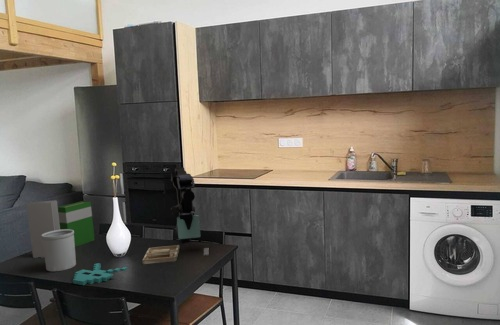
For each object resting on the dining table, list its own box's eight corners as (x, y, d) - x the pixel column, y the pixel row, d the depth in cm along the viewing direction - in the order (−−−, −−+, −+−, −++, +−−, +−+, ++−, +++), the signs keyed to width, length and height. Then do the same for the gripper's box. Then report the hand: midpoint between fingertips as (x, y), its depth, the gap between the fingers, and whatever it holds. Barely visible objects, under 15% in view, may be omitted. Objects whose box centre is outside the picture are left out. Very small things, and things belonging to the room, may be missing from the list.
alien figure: (97, 267, 207) (63, 282, 190) (97, 263, 207) (62, 277, 189) (128, 271, 198) (94, 288, 180) (127, 267, 198) (93, 283, 180)
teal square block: (179, 237, 218) (177, 216, 217) (200, 235, 219) (198, 214, 217) (178, 239, 215) (176, 218, 214) (200, 237, 216) (198, 216, 214)
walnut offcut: (149, 256, 209) (149, 253, 209) (169, 254, 211) (169, 251, 210) (148, 259, 205) (148, 256, 205) (169, 256, 206) (169, 254, 206)
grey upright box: (63, 253, 234) (56, 200, 230) (57, 256, 228) (51, 202, 225) (39, 254, 235) (32, 201, 232) (33, 257, 230) (26, 203, 227)
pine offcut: (153, 253, 210) (153, 250, 209) (169, 251, 210) (169, 248, 209) (152, 255, 206) (151, 252, 205) (168, 254, 206) (168, 251, 205)
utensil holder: (64, 260, 221) (60, 227, 219) (84, 263, 214) (80, 229, 212) (38, 270, 208) (34, 235, 206) (58, 273, 201) (54, 237, 199)
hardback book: (86, 239, 262) (82, 201, 259) (94, 240, 258) (90, 201, 255) (61, 247, 246) (56, 207, 244) (69, 248, 243) (65, 207, 240)
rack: (149, 253, 223) (148, 247, 223) (179, 250, 224) (179, 245, 224) (142, 266, 203) (142, 260, 203) (176, 262, 204) (175, 257, 204)
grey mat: (184, 250, 223) (184, 250, 223) (208, 248, 224) (208, 247, 224) (182, 257, 212) (182, 256, 212) (208, 255, 213) (208, 254, 213)
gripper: (172, 196, 224) (175, 225, 225) (168, 203, 205) (170, 234, 207) (193, 195, 224) (196, 224, 226) (190, 201, 206) (193, 233, 207)
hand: (189, 228), depth 216 cm, fingers closed on teal square block, 3 cm apart
